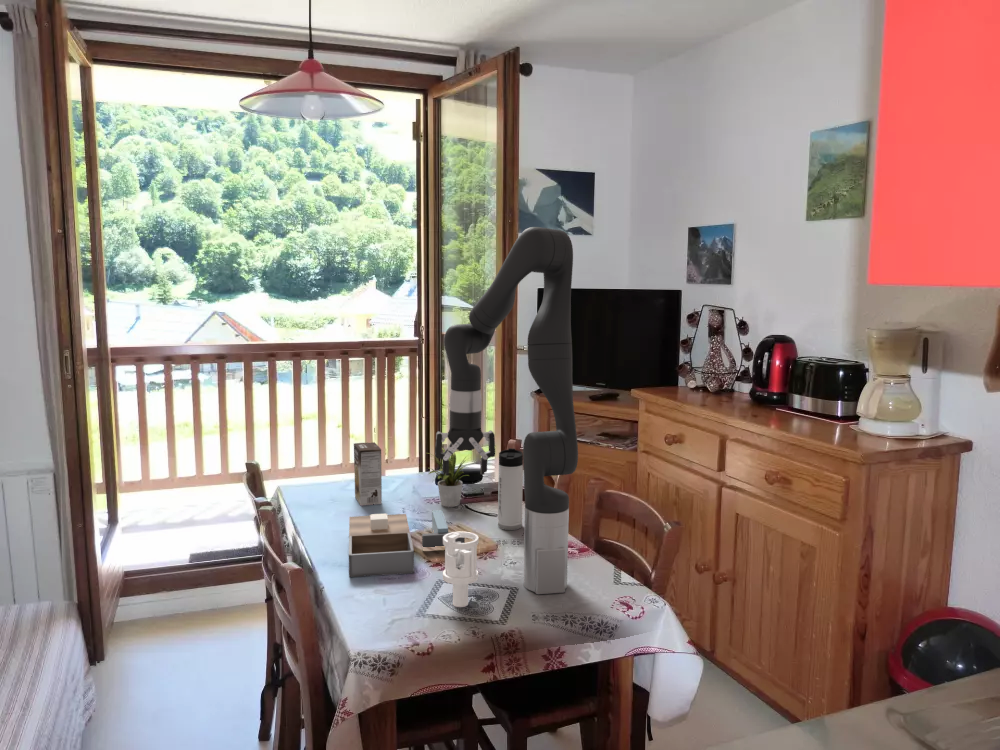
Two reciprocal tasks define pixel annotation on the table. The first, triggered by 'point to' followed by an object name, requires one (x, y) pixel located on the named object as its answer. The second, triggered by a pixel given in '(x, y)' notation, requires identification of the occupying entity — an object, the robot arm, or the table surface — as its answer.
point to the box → (381, 562)
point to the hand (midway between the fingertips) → (464, 474)
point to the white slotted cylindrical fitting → (460, 565)
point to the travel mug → (510, 489)
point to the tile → (378, 521)
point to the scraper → (437, 531)
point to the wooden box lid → (379, 535)
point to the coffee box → (368, 473)
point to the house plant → (450, 483)
